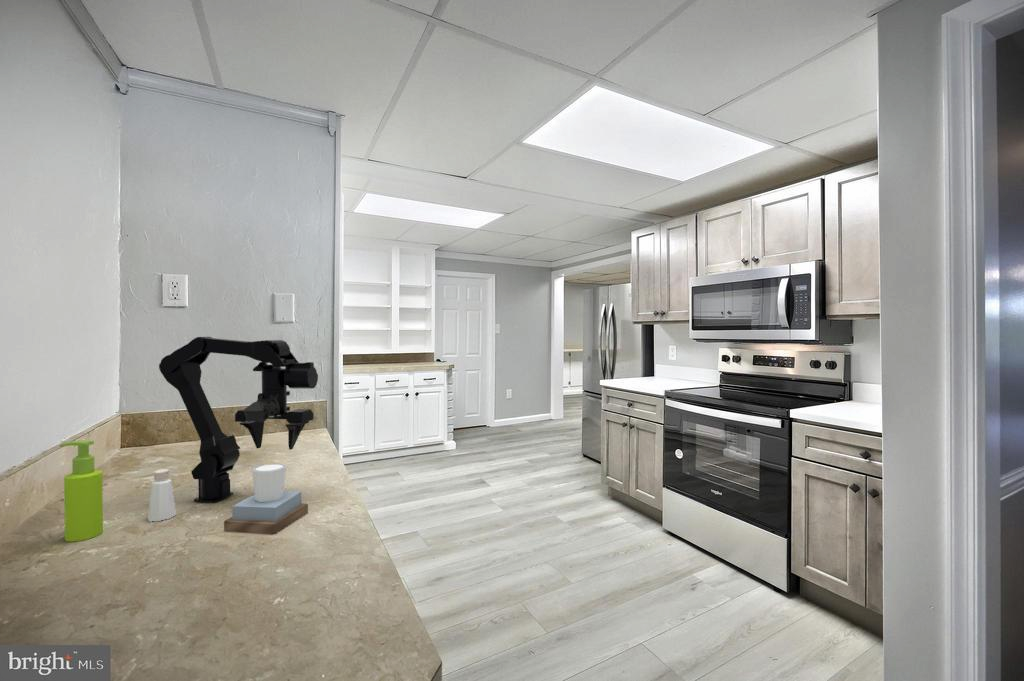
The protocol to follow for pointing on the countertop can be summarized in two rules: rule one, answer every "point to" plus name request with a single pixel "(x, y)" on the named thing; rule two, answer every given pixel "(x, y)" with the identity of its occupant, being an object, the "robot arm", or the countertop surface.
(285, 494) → the tower top
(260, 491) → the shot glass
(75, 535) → the soap dispenser
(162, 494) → the pepper shaker
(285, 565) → the countertop surface
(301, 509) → the tower base
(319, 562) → the countertop surface
